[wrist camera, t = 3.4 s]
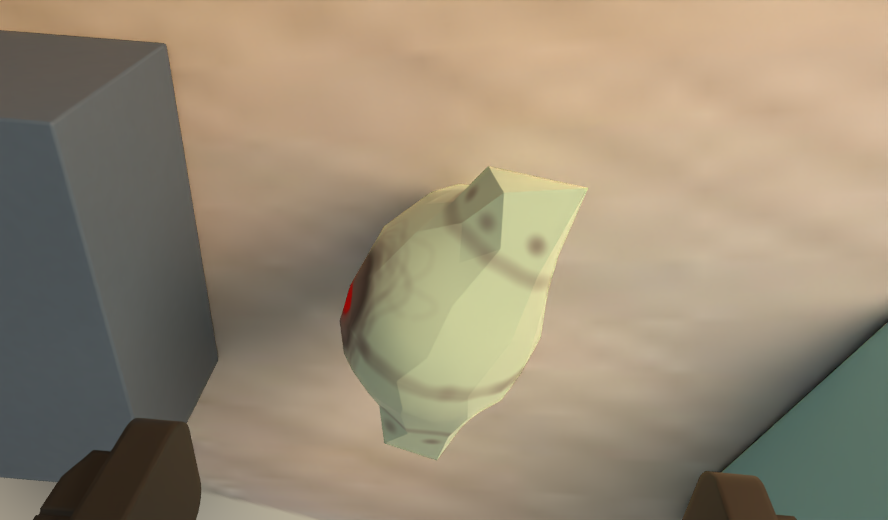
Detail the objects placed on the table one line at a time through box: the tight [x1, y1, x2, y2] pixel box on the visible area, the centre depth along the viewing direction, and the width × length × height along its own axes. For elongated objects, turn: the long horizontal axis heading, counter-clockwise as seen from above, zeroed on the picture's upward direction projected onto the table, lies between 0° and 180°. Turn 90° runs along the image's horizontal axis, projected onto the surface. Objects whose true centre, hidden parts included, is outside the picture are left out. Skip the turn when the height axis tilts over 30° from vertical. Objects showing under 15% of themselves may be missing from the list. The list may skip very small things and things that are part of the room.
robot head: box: [340, 166, 588, 460], centre depth 15 cm, size 8×4×7 cm, turn 160°
